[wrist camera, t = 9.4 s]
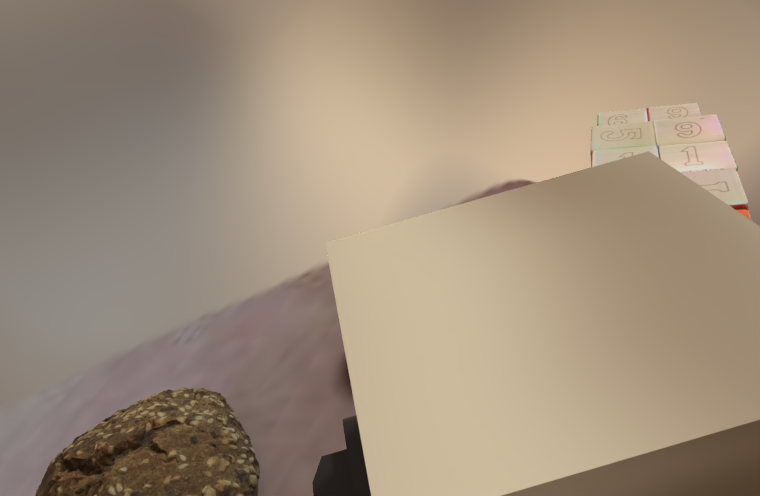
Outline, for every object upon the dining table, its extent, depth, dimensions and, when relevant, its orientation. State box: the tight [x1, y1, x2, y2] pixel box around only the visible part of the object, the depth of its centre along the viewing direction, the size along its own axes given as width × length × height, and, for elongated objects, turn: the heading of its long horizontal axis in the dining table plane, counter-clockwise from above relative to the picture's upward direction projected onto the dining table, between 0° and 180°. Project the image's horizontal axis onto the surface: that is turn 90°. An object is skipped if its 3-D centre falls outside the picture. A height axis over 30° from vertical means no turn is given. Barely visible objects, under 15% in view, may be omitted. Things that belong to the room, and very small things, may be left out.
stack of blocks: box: [591, 103, 752, 221], centre depth 35 cm, size 21×6×12 cm, turn 163°
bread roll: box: [36, 387, 260, 496], centre depth 34 cm, size 13×12×5 cm
